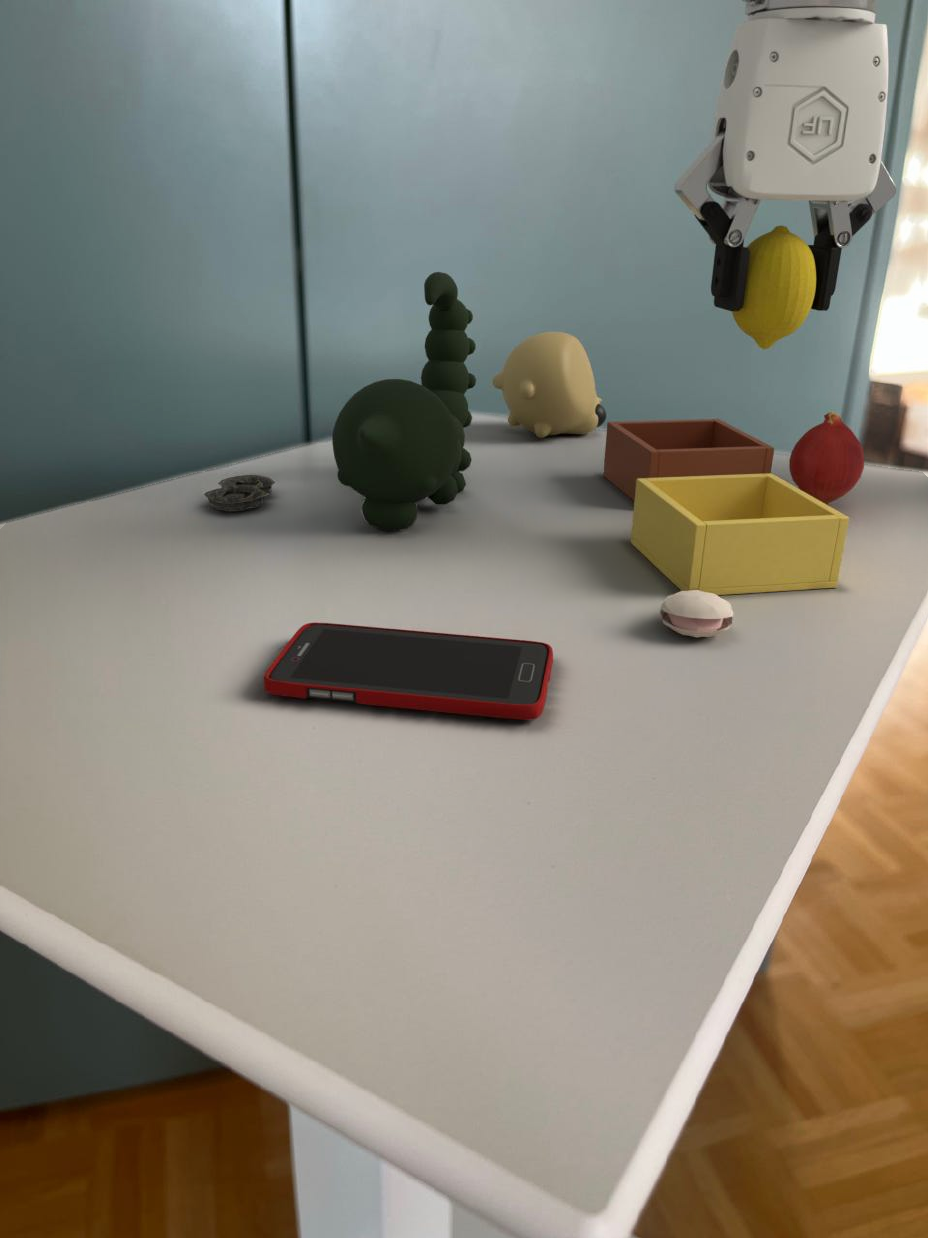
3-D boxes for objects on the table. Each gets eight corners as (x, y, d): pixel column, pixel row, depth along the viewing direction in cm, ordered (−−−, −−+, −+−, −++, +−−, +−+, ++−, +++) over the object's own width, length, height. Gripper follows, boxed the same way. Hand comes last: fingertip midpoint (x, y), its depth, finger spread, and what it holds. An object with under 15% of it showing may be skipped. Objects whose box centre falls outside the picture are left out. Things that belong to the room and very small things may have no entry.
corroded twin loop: (283, 486, 86) (282, 475, 86) (258, 515, 79) (257, 502, 79) (226, 484, 87) (225, 472, 86) (196, 512, 79) (195, 500, 79)
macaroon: (659, 641, 59) (663, 602, 58) (656, 608, 64) (660, 572, 63) (733, 647, 59) (739, 608, 58) (725, 614, 63) (730, 577, 62)
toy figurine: (399, 482, 95) (299, 545, 72) (403, 270, 89) (295, 264, 65) (497, 490, 93) (426, 558, 70) (508, 274, 87) (434, 270, 64)
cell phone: (541, 725, 50) (542, 708, 49) (258, 697, 52) (257, 680, 51) (554, 658, 57) (555, 642, 56) (304, 635, 59) (303, 620, 58)
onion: (808, 491, 89) (823, 401, 85) (868, 507, 85) (886, 413, 81) (770, 503, 85) (784, 409, 82) (831, 520, 81) (848, 422, 78)
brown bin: (712, 471, 94) (718, 418, 92) (766, 505, 85) (774, 447, 83) (603, 475, 92) (607, 421, 90) (645, 511, 83) (651, 451, 81)
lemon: (708, 344, 71) (722, 223, 68) (773, 341, 73) (790, 223, 69) (754, 357, 66) (772, 227, 63) (823, 353, 68) (843, 227, 65)
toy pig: (574, 476, 105) (642, 402, 105) (515, 398, 97) (588, 318, 98) (523, 451, 112) (586, 383, 113) (465, 377, 105) (532, 303, 105)
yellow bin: (762, 535, 77) (771, 472, 75) (836, 587, 68) (849, 517, 66) (630, 542, 75) (636, 478, 73) (687, 597, 66) (696, 524, 64)
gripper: (706, -19, 56) (672, 316, 63) (978, -3, 59) (916, 314, 66) (656, 1, 63) (631, 302, 70) (903, 14, 66) (854, 301, 73)
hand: (770, 305), depth 68 cm, fingers closed on lemon, 5 cm apart
